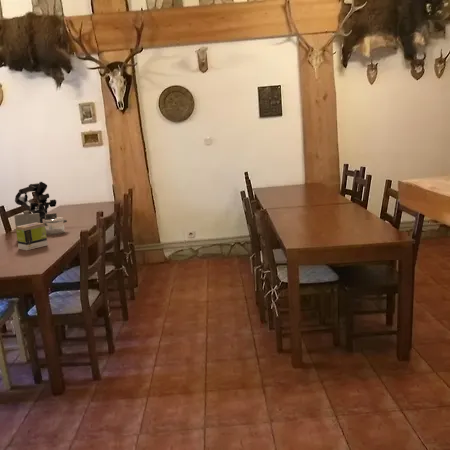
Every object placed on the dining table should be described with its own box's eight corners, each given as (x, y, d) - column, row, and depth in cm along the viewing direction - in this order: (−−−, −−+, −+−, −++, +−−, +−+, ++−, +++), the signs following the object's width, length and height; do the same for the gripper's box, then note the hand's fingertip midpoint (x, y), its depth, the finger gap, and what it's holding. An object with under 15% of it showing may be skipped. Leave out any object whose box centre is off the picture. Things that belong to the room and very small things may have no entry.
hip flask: (42, 238, 361) (38, 209, 358) (41, 239, 358) (38, 210, 354) (17, 240, 358) (14, 211, 354) (16, 241, 354) (13, 212, 350)
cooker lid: (41, 220, 377) (40, 215, 376) (59, 217, 385) (59, 212, 384) (47, 222, 366) (47, 217, 365) (66, 220, 374) (66, 214, 373)
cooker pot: (39, 233, 377) (38, 221, 375) (63, 229, 387) (62, 217, 386) (46, 236, 367) (44, 223, 365) (70, 232, 377) (69, 219, 376)
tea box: (39, 244, 343) (36, 221, 340) (48, 245, 336) (45, 223, 333) (18, 248, 331) (15, 225, 328) (26, 250, 325) (23, 227, 322)
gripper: (28, 192, 381) (35, 209, 374) (54, 188, 391) (60, 204, 385) (27, 201, 389) (33, 218, 382) (52, 197, 399) (58, 214, 393)
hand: (46, 213), depth 385 cm, fingers closed
